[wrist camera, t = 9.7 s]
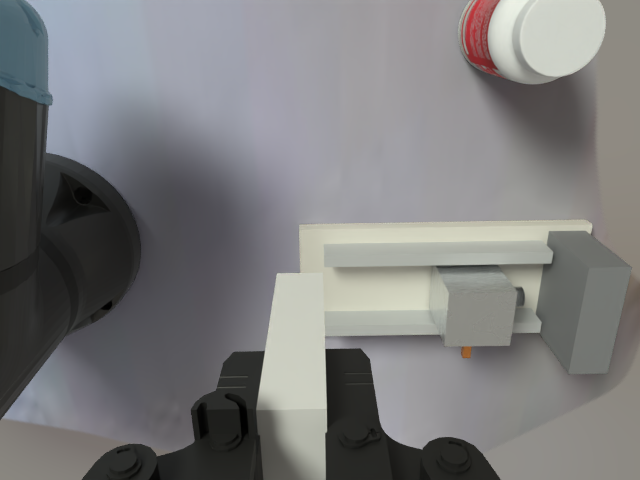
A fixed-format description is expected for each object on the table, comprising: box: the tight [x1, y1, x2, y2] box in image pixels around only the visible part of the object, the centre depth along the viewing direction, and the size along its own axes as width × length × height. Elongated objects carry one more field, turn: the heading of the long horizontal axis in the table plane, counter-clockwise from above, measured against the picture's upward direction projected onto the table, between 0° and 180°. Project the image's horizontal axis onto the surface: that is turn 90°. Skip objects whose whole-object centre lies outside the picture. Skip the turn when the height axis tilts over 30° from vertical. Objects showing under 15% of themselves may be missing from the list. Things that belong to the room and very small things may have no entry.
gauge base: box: [299, 220, 632, 374], centre depth 43 cm, size 24×10×8 cm, turn 91°
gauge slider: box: [429, 264, 525, 358], centre depth 43 cm, size 7×7×6 cm
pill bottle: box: [458, 0, 606, 84], centre depth 34 cm, size 6×6×11 cm
